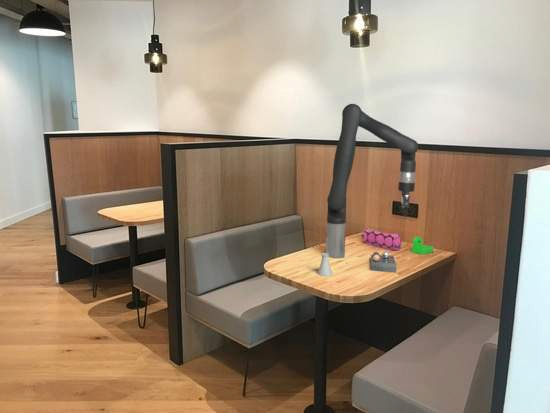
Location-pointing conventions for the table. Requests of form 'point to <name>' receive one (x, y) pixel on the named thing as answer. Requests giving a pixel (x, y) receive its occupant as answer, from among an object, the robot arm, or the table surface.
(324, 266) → the flask
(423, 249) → the mechanical part
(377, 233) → the pencil case
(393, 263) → the grey ball holder tray
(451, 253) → the table surface
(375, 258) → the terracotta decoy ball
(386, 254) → the steel ball
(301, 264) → the table surface
